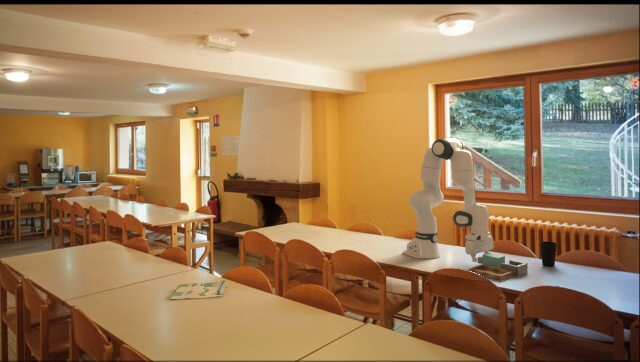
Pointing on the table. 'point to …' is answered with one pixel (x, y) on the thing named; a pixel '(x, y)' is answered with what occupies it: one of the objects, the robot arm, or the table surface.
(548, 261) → the cup
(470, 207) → the robot arm
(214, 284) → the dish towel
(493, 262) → the green rectangular block
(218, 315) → the table surface
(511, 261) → the bay
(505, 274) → the tray
